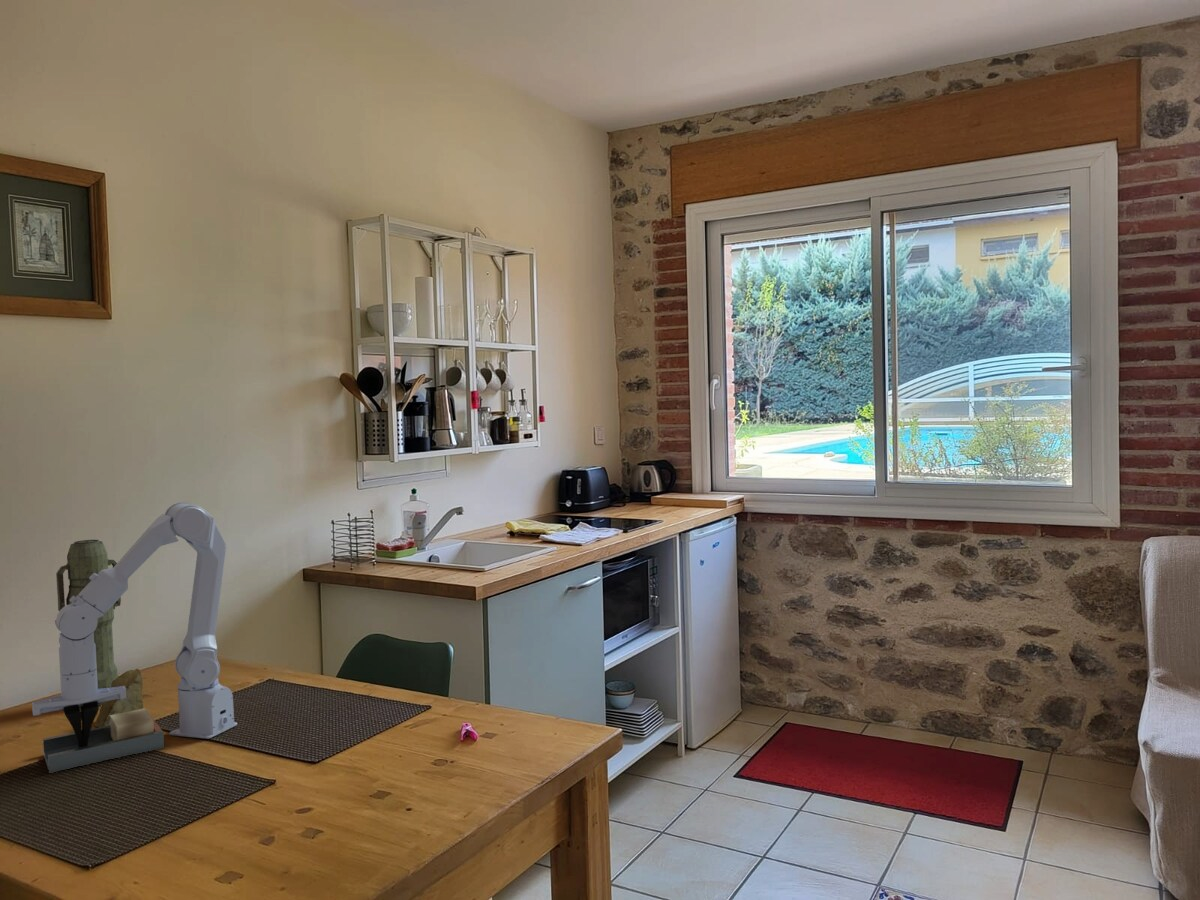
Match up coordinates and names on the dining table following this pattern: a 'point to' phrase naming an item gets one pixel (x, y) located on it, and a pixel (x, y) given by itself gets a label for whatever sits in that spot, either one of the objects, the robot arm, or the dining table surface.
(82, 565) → the thermos
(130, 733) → the block
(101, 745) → the chute
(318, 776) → the dining table surface
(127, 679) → the rock
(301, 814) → the dining table surface
